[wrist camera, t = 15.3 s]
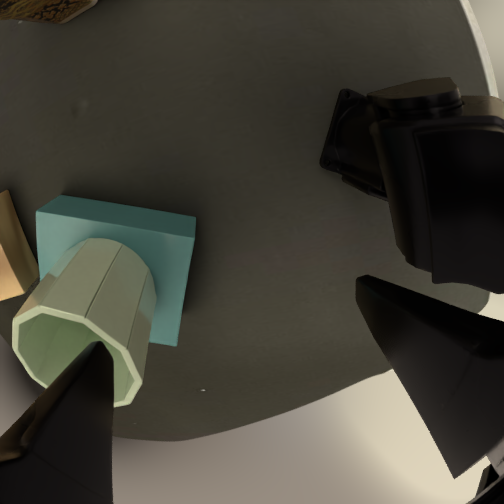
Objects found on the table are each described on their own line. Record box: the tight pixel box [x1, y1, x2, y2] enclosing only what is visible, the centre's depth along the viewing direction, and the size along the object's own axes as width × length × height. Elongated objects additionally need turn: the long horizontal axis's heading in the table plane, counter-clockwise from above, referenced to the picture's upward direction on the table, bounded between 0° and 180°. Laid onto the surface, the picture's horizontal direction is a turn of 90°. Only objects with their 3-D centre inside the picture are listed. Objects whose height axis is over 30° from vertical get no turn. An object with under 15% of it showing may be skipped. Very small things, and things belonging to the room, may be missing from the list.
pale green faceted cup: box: [12, 238, 157, 407], centre depth 14 cm, size 7×7×8 cm
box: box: [36, 195, 196, 346], centre depth 19 cm, size 9×11×4 cm
